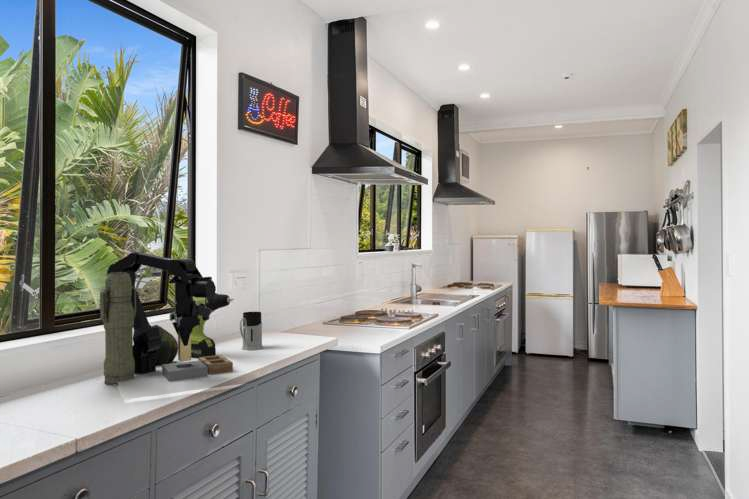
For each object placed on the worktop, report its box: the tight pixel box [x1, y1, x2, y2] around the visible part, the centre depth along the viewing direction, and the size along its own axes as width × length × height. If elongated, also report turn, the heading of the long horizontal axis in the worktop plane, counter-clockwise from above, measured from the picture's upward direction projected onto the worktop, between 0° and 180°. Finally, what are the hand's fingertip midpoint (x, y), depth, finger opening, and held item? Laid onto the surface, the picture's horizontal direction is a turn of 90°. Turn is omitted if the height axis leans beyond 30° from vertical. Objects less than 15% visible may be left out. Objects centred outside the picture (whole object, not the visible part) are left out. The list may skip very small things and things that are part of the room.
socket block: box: [161, 359, 209, 382], centre depth 180 cm, size 12×12×4 cm
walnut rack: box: [198, 354, 234, 375], centre depth 189 cm, size 14×8×4 cm, turn 30°
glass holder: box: [239, 311, 264, 351], centre depth 227 cm, size 9×14×15 cm, turn 164°
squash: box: [151, 324, 178, 366], centre depth 200 cm, size 14×15×15 cm
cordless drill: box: [191, 292, 235, 359], centre depth 213 cm, size 23×7×25 cm, turn 70°
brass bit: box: [177, 332, 192, 362], centre depth 179 cm, size 3×3×10 cm
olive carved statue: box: [99, 272, 137, 386], centre depth 175 cm, size 9×12×35 cm
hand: (184, 344), depth 179 cm, fingers closed on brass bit, 3 cm apart
